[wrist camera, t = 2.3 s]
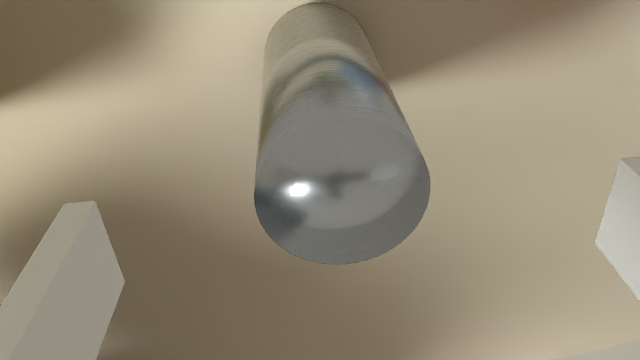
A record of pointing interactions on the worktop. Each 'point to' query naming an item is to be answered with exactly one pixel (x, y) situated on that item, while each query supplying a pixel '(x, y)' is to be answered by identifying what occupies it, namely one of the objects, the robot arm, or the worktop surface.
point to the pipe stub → (333, 144)
